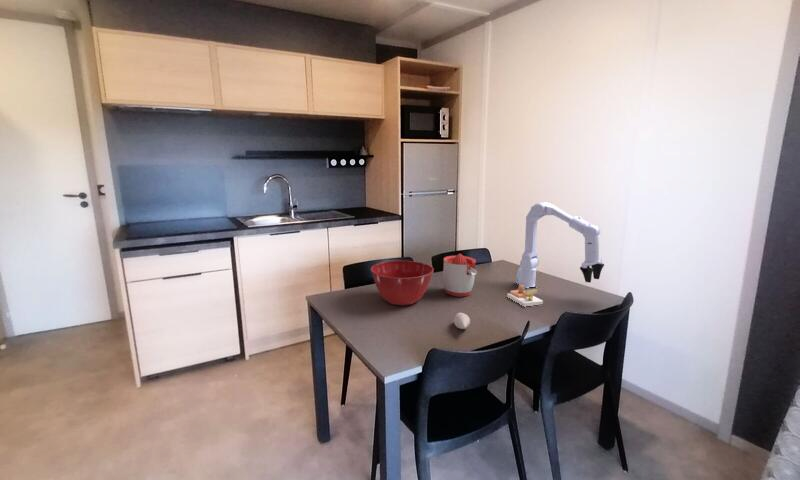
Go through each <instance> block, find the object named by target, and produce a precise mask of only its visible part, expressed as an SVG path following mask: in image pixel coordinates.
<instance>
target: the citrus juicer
mask: <svg viewBox="0 0 800 480" xmlns="http://www.w3.org/2000/svg"><path fill="white" fill-rule="evenodd" d="M442 260H443V271H442V272H443V273H442V277H443V278H442V281H443V285H444V286H443V287H444V290H445V293H446V294H447V295H449V296H454V297H457V298H460V297H467V296H469V295H470V294H471V292H472V290H473V287H474V283H475V277H476V276H475V275H477V273H478V271H477V270H476V263H477V260H476V259H475V258H473V257H470V256H466V255H463V254H462V253H458V254H457V255H447V256H445V257H444V258H443V259H442Z"/></svg>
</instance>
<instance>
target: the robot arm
mask: <svg viewBox="0 0 800 480" xmlns="http://www.w3.org/2000/svg"><path fill="white" fill-rule="evenodd" d="M544 216H554V217H556V218H558V219H560V220H562V221H564V222H566V223H567V224H568V226H569V228H571V229H573V230H574V231H576V232H577V233H580V234H582V236H583V238H584V261H583V262H582V263H581V266H579V270H580V271H581V273H582V274H583V278H584V281H585V283H592V277H593V280H599V279H600V277H601V273H602V270H603V269H604V267H605V264H604V263H603V259H602V258H600V254H599V253H600V251H599V250H600V247H599V246H600V244H599V243H600V242H599V235H600V234H601V229H600V227H599V226H597V224H592V223H591V222H588V221H586V220H584V219H583V217H582V216H572V215H570V214H569V213H566V212H565V211H564V210H562V209H560V208H559V207H558V206H556V205H555V204H552V203H550V202H547V201H545V202H539V203H538V202H537V203H535V204H534V205H532V206H531V207H530V210H529V212H528V213H527V215H526V217H525V240H524V241H525V242H524V252H523V253H522V255H521V258H520V259H521V260H520V262H519V265H520V267H519V268H518V269H517V272H516V281H515V282H514V284H516V283H517V284H516V285H518V284H519V285H524V286H525V288H524V289H526V288H527V289H530V288H529V287H534V286H535V285H536V277H537V276H536V275H537V267H538V266H539V264H540V259H539V257H538V256H539V255H538V252H537V232H538V229H537V228H538V221H539V220H540V219H542V218H543V217H544ZM519 285H518V286H519Z"/></svg>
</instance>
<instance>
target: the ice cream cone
mask: <svg viewBox="0 0 800 480" xmlns="http://www.w3.org/2000/svg"><path fill="white" fill-rule="evenodd" d="M453 322H454V325H455V327H456V328H457V329H460V330H465V329H467V328H468V327H469V326H470V324H471V319H470V317H469V315H468V314H467V313H464V312H458V313H456V314H455V316H454V321H453Z"/></svg>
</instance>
